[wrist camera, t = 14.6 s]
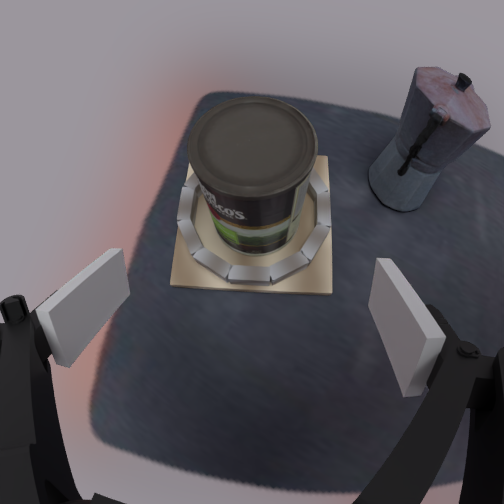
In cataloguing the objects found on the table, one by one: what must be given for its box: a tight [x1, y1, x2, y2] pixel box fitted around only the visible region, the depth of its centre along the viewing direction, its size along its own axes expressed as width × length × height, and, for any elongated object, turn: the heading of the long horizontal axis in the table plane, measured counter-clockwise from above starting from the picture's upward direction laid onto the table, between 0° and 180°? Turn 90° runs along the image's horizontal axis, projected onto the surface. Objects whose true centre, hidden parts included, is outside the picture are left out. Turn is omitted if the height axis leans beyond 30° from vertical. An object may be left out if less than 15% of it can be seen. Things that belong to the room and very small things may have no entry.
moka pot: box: [369, 67, 491, 211], centre depth 29 cm, size 10×15×20 cm, turn 140°
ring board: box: [170, 155, 332, 295], centre depth 36 cm, size 18×18×4 cm
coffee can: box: [187, 96, 318, 256], centre depth 30 cm, size 10×10×14 cm
